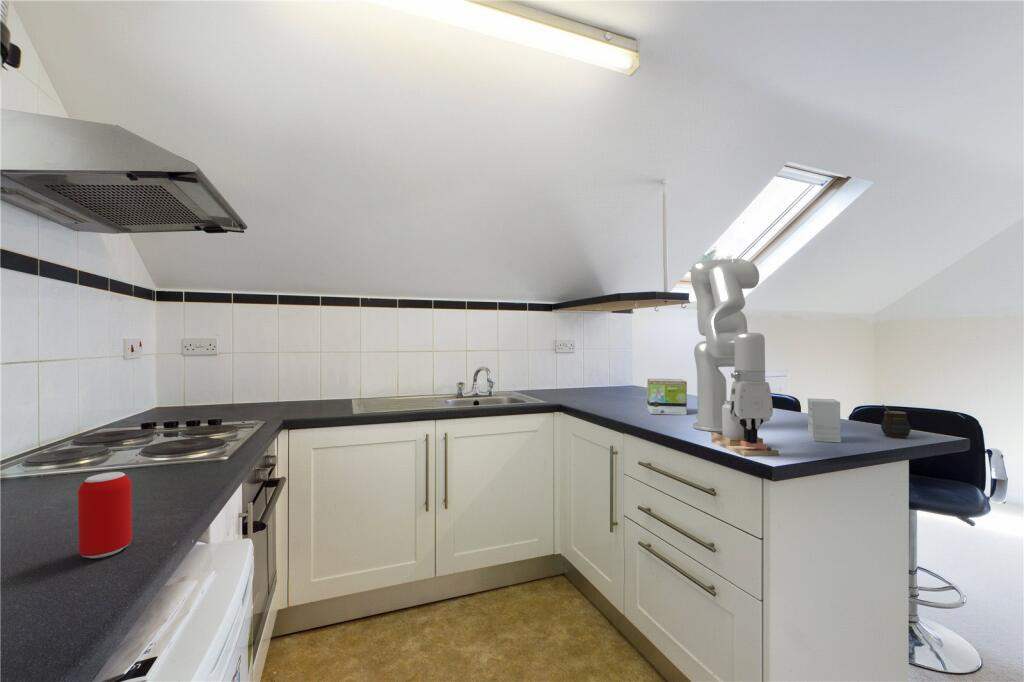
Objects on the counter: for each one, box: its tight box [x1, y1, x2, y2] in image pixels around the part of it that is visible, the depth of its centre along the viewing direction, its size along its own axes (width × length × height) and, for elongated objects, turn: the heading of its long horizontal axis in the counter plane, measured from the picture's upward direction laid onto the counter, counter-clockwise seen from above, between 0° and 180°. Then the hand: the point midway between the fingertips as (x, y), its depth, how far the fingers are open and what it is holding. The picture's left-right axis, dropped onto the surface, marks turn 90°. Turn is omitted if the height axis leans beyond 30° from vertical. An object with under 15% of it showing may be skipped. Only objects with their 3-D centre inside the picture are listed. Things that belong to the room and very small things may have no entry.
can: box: [721, 400, 744, 439], centre depth 132 cm, size 8×8×12 cm
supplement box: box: [807, 397, 842, 444], centre depth 138 cm, size 7×7×13 cm
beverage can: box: [77, 471, 133, 559], centre depth 69 cm, size 6×6×12 cm
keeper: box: [740, 441, 768, 449], centre depth 122 cm, size 2×6×1 cm, turn 94°
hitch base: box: [710, 431, 780, 457], centre depth 129 cm, size 17×10×3 cm, turn 4°
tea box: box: [646, 378, 688, 416], centre depth 191 cm, size 15×10×15 cm, turn 81°
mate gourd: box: [880, 404, 912, 439], centre depth 141 cm, size 7×8×10 cm
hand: (750, 442), depth 122 cm, fingers closed
